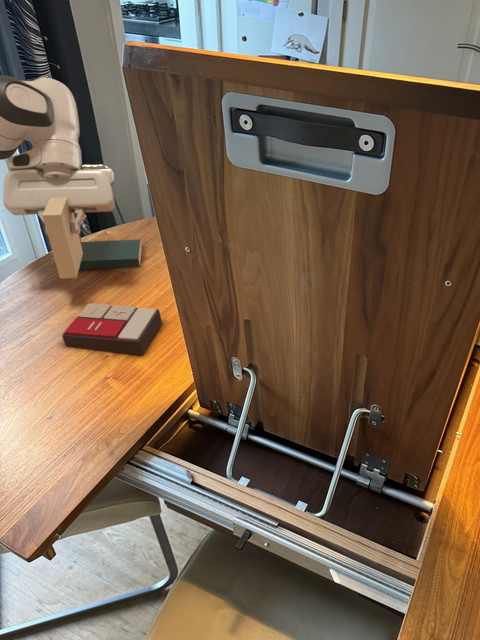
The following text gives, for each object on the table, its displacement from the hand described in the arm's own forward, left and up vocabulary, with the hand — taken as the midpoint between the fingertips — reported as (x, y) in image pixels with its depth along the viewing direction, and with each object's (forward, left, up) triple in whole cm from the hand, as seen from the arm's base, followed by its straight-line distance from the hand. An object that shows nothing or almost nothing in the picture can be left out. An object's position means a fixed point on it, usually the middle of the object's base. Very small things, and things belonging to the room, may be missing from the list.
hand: (63, 233), depth 101 cm
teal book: (+1, +16, -14) cm, 22 cm away
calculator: (+13, -13, -14) cm, 23 cm away
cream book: (0, +1, -7) cm, 7 cm away
